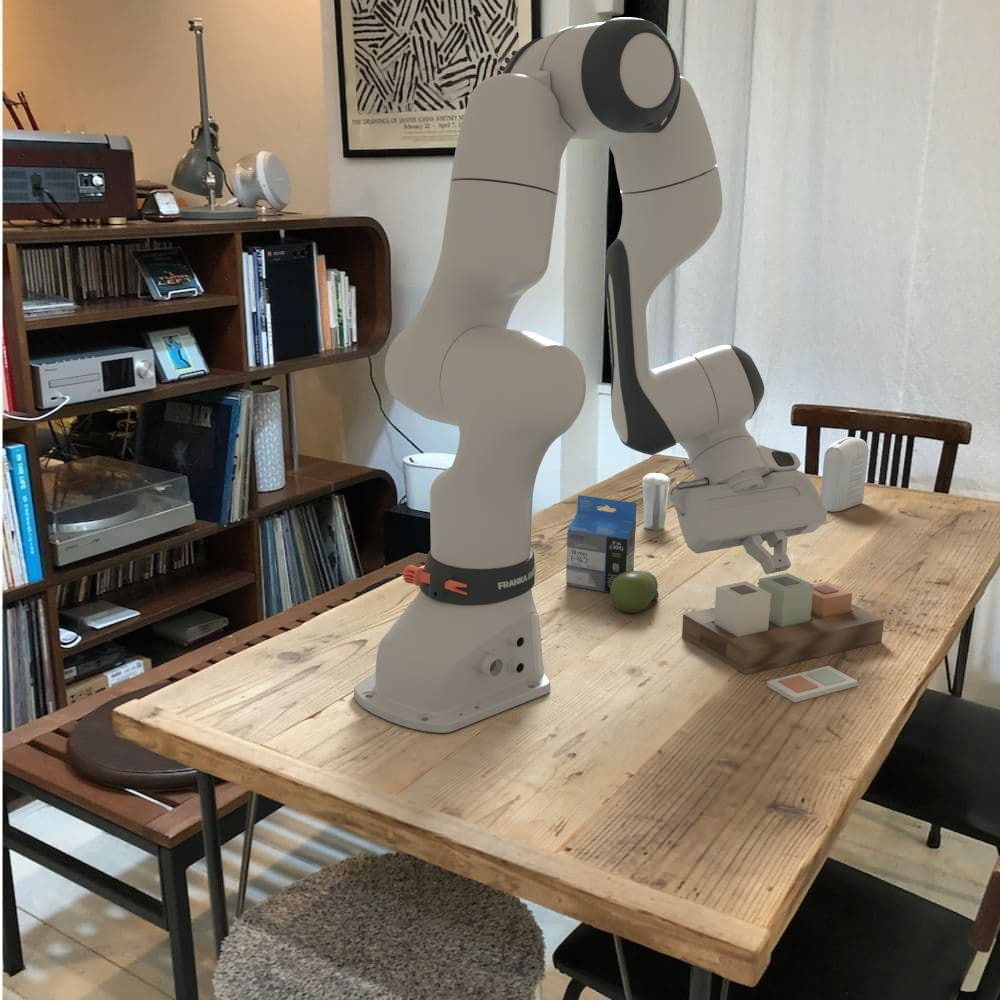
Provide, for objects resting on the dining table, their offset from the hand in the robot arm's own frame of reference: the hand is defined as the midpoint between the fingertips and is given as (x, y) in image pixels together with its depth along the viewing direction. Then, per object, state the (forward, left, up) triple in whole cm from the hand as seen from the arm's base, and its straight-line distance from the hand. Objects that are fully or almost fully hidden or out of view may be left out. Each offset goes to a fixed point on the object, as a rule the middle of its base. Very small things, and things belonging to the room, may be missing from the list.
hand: (779, 570), depth 125 cm
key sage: (-1, -1, -6) cm, 6 cm away
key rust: (+5, -4, -8) cm, 10 cm away
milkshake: (+29, +34, -9) cm, 45 cm away
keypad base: (-1, -1, -8) cm, 9 cm away
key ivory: (-7, +1, -6) cm, 9 cm away
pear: (-2, +19, -9) cm, 21 cm away
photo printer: (+61, +15, -9) cm, 63 cm away
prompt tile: (-11, -9, -8) cm, 17 cm away
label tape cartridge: (0, +26, -9) cm, 27 cm away
